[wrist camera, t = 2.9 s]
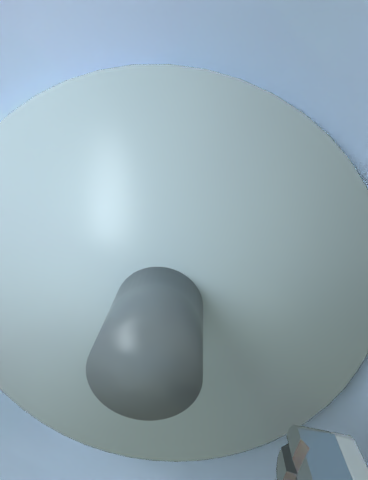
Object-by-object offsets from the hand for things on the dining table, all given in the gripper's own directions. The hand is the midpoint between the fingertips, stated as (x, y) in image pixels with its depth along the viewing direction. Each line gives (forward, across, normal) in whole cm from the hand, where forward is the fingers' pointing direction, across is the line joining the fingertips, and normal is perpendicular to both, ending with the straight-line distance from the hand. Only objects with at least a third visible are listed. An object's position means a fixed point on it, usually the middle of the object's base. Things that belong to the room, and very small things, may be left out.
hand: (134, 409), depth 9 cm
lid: (+5, 0, -1) cm, 5 cm away
